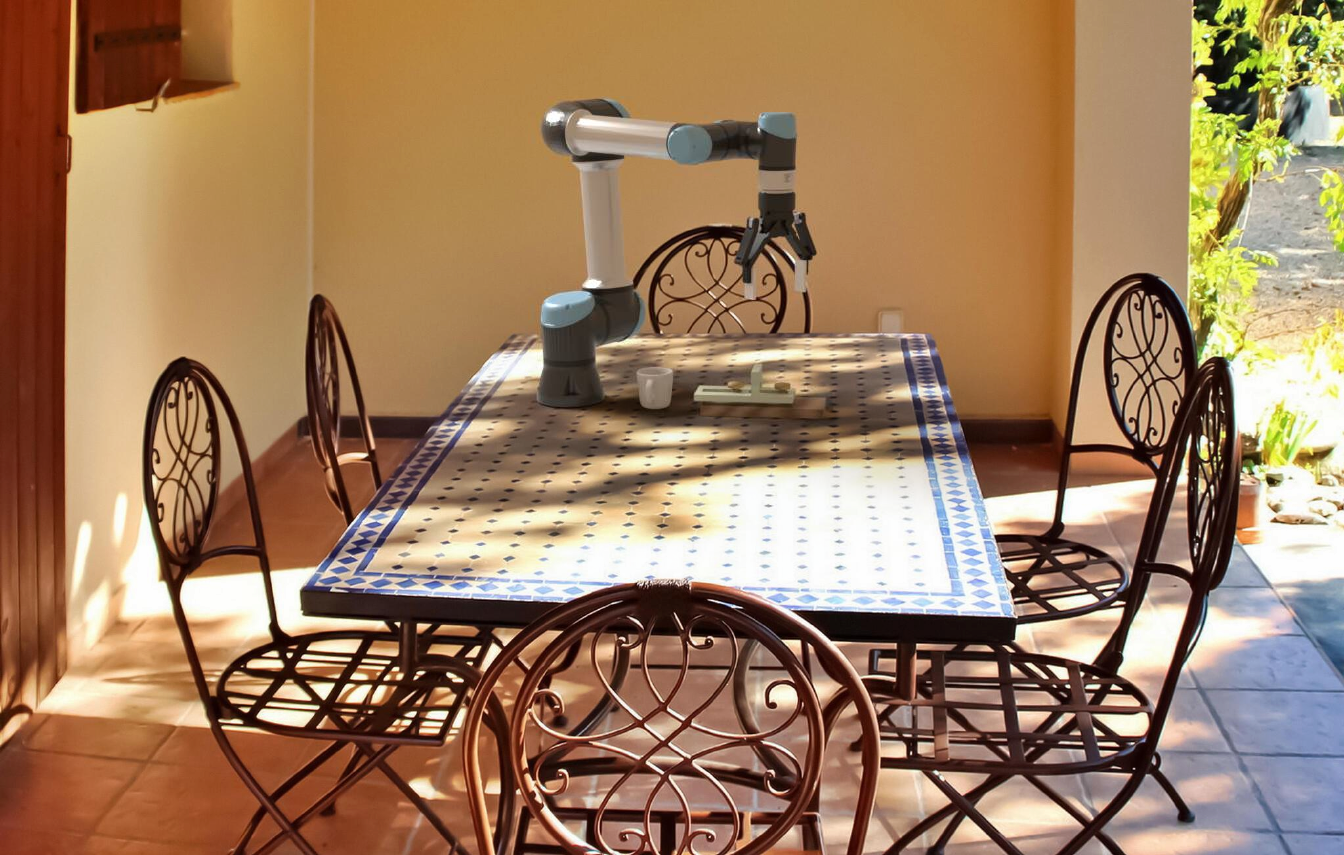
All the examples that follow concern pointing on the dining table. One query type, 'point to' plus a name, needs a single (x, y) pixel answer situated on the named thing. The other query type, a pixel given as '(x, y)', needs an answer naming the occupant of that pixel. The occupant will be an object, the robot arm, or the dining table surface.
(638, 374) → the cup
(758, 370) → the panel
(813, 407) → the rail
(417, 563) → the dining table surface
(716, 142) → the robot arm
